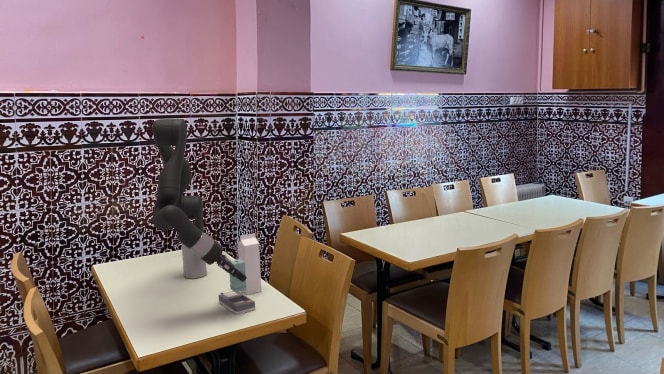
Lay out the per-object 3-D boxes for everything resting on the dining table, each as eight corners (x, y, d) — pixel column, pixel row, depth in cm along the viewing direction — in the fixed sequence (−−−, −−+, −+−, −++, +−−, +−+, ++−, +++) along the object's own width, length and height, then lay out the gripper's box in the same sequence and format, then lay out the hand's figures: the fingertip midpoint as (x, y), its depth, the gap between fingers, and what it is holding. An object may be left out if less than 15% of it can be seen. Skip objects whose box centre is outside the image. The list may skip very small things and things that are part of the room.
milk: (261, 291, 209) (259, 235, 205) (246, 295, 206) (243, 237, 202) (254, 286, 214) (252, 231, 210) (239, 290, 211) (237, 234, 207)
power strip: (213, 298, 203) (212, 290, 202) (230, 294, 207) (229, 285, 207) (236, 314, 188) (236, 305, 187) (255, 309, 192) (254, 300, 192)
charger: (230, 289, 193) (228, 261, 191) (240, 286, 195) (239, 258, 194) (235, 292, 190) (234, 264, 188) (246, 289, 192) (245, 261, 190)
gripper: (217, 244, 180) (255, 275, 187) (209, 234, 193) (245, 263, 200) (201, 262, 179) (240, 292, 186) (195, 251, 192) (231, 279, 199)
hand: (242, 277), depth 193 cm, fingers closed on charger, 5 cm apart
